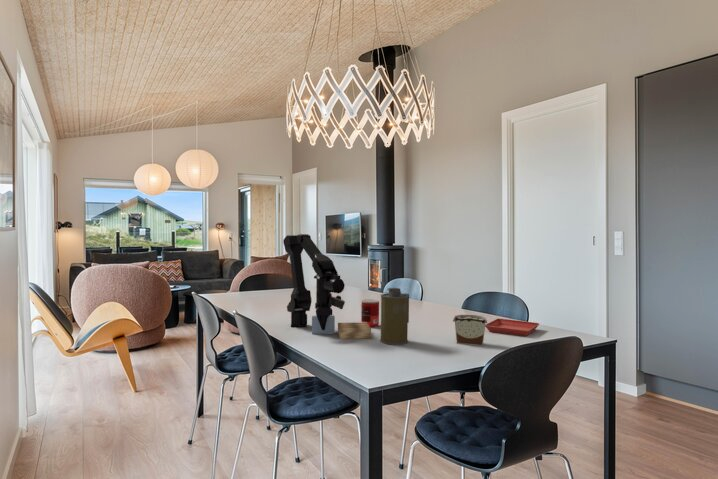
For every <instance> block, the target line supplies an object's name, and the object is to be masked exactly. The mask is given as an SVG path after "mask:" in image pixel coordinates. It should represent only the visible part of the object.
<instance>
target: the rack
mask: <svg viewBox="0 0 718 479" xmlns="http://www.w3.org/2000/svg"><path fill="white" fill-rule="evenodd" d="M337 334H338V337H339V339H341V340H343V339H344V340H345V339H371V338H372V327H370V326H369V324H367V322H360V321H359V322H337Z"/></svg>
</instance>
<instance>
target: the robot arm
mask: <svg viewBox="0 0 718 479" xmlns="http://www.w3.org/2000/svg"><path fill="white" fill-rule="evenodd" d="M283 247H284V250H285V253H287V255H288V256H289V262H290V269H291V278H292V285H293V290H292V292H291V294H290V301H289V302H288V304H287V306H286V310H287V312H289V313H290V318H291V319H290V327H292V328H293V327H294V328H295V327H297V328H298V327H299V328H300V327H302V328H303V327H307V325H308V313H307V312H310V310H311V306H312V295H311V294H312V292H311V290H310V289H309V290H308V289H307V287H306V284H305V276H304V268H303V261H302V252H303V250H304V251H305V253H306V254H307V255H308V257H309V258H310V260H311V262H312V263H311V267H312V268H313V271H314V273H316V274H315V275H314V276H313V279H315V280H316V282H315V283H316V285H315V286H316V287H315V288H316V292H315V293H316V294H315V296H316V297H315V299H316V300H315V301H316V302H314V309H315V316H317V318H318V321H319V323H320V326H321V329H322V330H325V327H326V322H327V318H328V317H329V316H330V315H333V308H332V307H335V308H338V309H339V310H343V309H344V306H345V304H346V302H345V300H344V299H342V297H341V295H336V296H332V295H333V294H332V293H334V294H341V293H342V292H343V291H344V289H345V286H346V285H345V282H344V280H343V279H341V275H339V274H338V270H337V269H336V267H335V265H334V261H333V260H332V259H331V258H330V257H329V256H327V255H325V254H323V253H322V252H321V250H320V249H319V248H318V246H317V244H316V243H315V242H314V241H313V239H312V237H311V235H310V234H307V233H304V234H295V235H294V234H293V235H291V234H289V235H286V236H285V237H284V238H283Z"/></svg>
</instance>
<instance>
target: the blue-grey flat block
mask: <svg viewBox="0 0 718 479" xmlns="http://www.w3.org/2000/svg"><path fill="white" fill-rule="evenodd" d="M335 317H336V316H335V314H332V315H330V316H329V317H328V318H327V322H326V327H325V330H322V329H321V326H320V323H319V321H318V318H317V315H311V334H312V335H331V334H332V335H334V334H335V331H336V330H335V328H336V327H335V324H336V323H335Z"/></svg>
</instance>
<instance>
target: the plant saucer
mask: <svg viewBox="0 0 718 479" xmlns="http://www.w3.org/2000/svg"><path fill="white" fill-rule="evenodd" d="M539 325H540V323H539V322H534V321H533V322H532V321H523V320H513V319H506V318H496V319H494V320H492V321H489V322H487V323H486V324H485V329H487V330H488V331H489V332H490V333H495V334H496V333H497V334H503V333H504V334H505V335H511V334H512V335H511V336H520V337H527V336H528V335H529V334H532V332H534V331H535V330H536V329H537V327H538V326H539Z"/></svg>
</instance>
